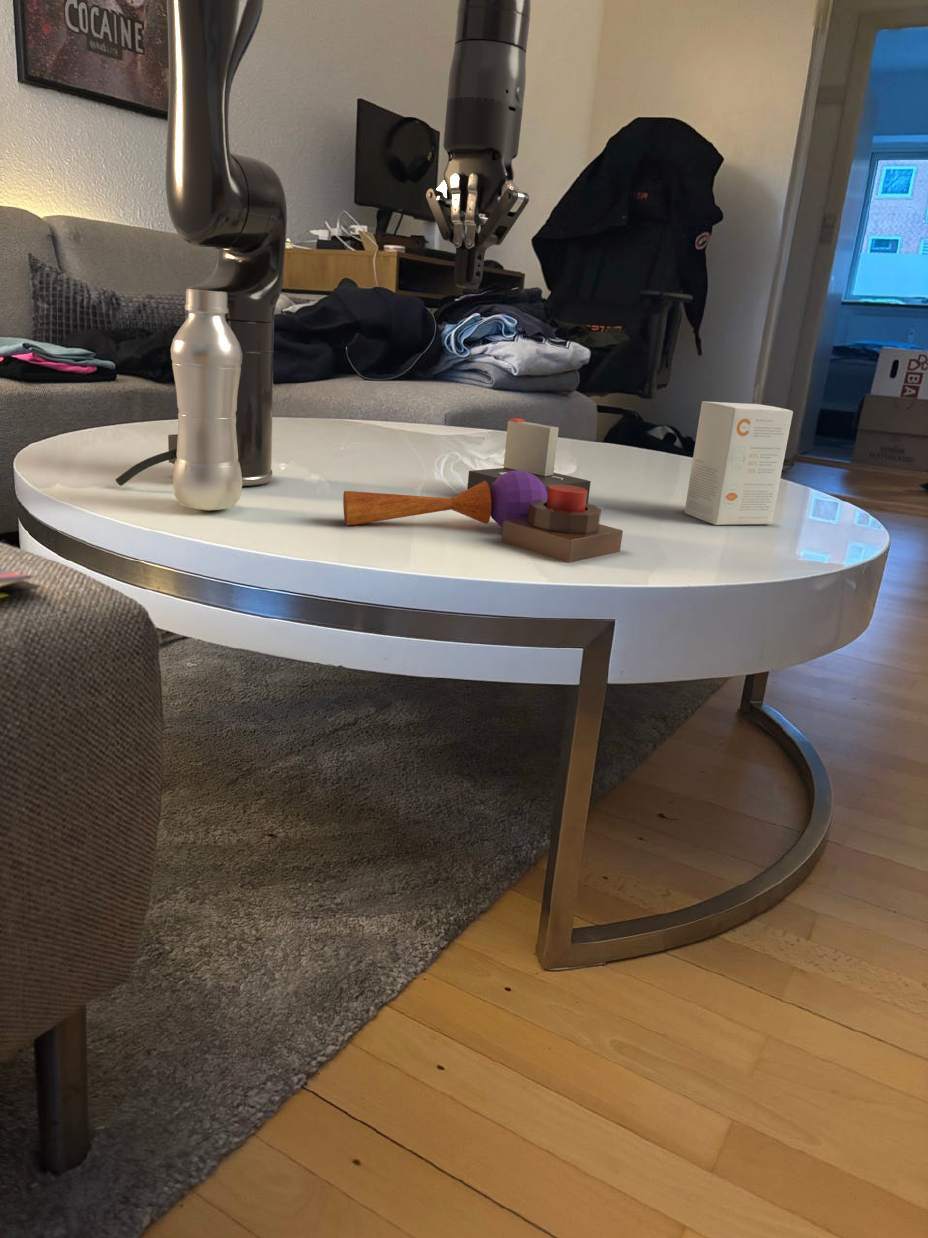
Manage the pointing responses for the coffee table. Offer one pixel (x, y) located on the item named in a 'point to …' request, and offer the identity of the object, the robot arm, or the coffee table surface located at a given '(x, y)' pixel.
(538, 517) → the block
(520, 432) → the beige square slab
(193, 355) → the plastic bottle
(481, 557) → the coffee table surface
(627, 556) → the coffee table surface
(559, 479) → the hob panel
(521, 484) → the kendama
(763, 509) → the small box
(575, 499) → the button
